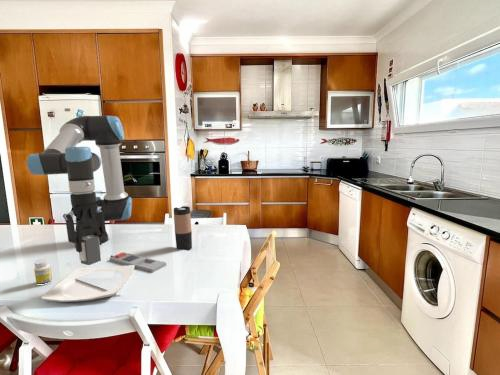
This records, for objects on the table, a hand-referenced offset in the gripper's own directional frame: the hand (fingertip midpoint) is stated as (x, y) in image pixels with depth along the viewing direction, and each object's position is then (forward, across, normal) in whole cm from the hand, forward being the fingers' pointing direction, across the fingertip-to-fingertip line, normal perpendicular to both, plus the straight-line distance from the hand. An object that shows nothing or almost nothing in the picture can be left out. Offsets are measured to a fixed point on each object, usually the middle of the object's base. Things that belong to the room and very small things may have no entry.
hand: (90, 257), depth 100 cm
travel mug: (+11, +42, -5) cm, 44 cm away
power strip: (+11, +19, +2) cm, 22 cm away
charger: (+2, 0, 0) cm, 2 cm away
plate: (+11, 0, 0) cm, 11 cm away
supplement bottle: (+11, -7, +19) cm, 23 cm away
